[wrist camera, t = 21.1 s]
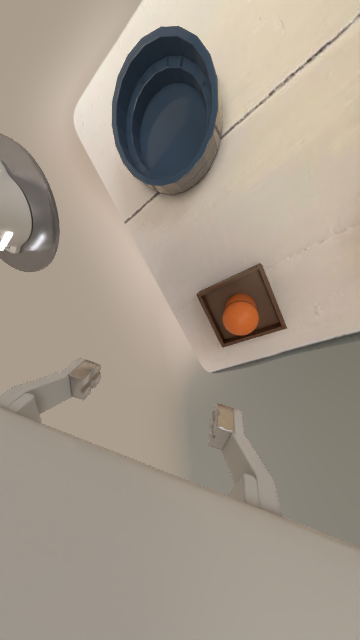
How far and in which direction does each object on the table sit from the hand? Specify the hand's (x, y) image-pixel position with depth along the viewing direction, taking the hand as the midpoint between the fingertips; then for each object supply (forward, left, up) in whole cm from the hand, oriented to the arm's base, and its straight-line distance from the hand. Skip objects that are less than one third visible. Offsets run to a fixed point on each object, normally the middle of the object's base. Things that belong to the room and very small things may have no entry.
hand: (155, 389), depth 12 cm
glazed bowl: (-12, +22, -24) cm, 35 cm away
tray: (+5, 0, -24) cm, 25 cm away
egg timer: (+6, 0, -24) cm, 24 cm away
